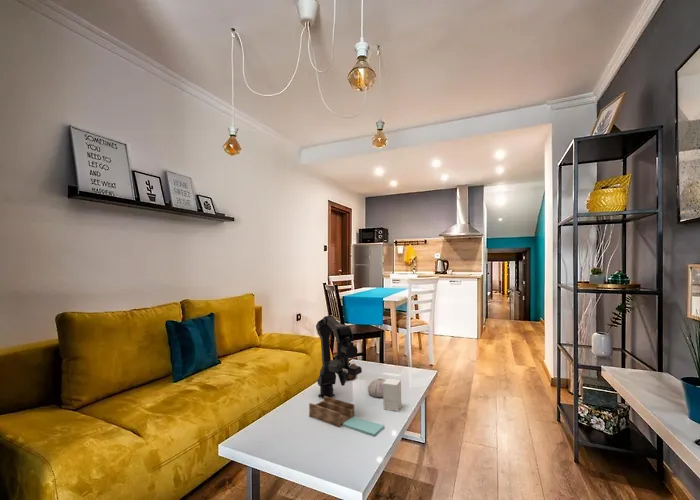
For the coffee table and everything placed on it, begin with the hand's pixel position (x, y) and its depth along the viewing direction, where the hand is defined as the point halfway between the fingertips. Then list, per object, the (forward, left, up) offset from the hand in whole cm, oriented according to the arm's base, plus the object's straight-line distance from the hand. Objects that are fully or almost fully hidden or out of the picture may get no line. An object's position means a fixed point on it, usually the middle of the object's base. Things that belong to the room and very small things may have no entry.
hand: (343, 385), depth 155 cm
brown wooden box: (-2, -7, -13) cm, 14 cm away
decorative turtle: (-26, +39, -13) cm, 49 cm away
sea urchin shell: (+2, +29, -13) cm, 32 cm away
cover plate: (+16, -6, -13) cm, 21 cm away
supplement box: (+16, +18, -13) cm, 28 cm away
